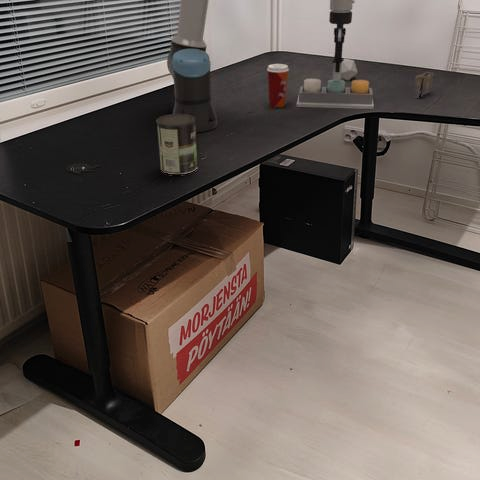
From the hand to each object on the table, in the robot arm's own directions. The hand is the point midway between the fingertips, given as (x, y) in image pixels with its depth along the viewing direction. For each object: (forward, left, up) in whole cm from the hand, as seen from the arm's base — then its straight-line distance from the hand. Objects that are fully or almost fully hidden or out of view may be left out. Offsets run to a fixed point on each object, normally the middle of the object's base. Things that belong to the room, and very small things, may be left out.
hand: (336, 80), depth 216 cm
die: (+17, +30, -8) cm, 35 cm away
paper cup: (-21, +3, -8) cm, 23 cm away
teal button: (0, 0, -6) cm, 6 cm away
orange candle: (+8, -3, -6) cm, 10 cm away
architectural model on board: (+35, 0, -9) cm, 36 cm away
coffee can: (-65, -46, -8) cm, 80 cm away
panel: (0, 0, -8) cm, 8 cm away
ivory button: (-8, +3, -6) cm, 11 cm away
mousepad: (-88, -39, -9) cm, 97 cm away
